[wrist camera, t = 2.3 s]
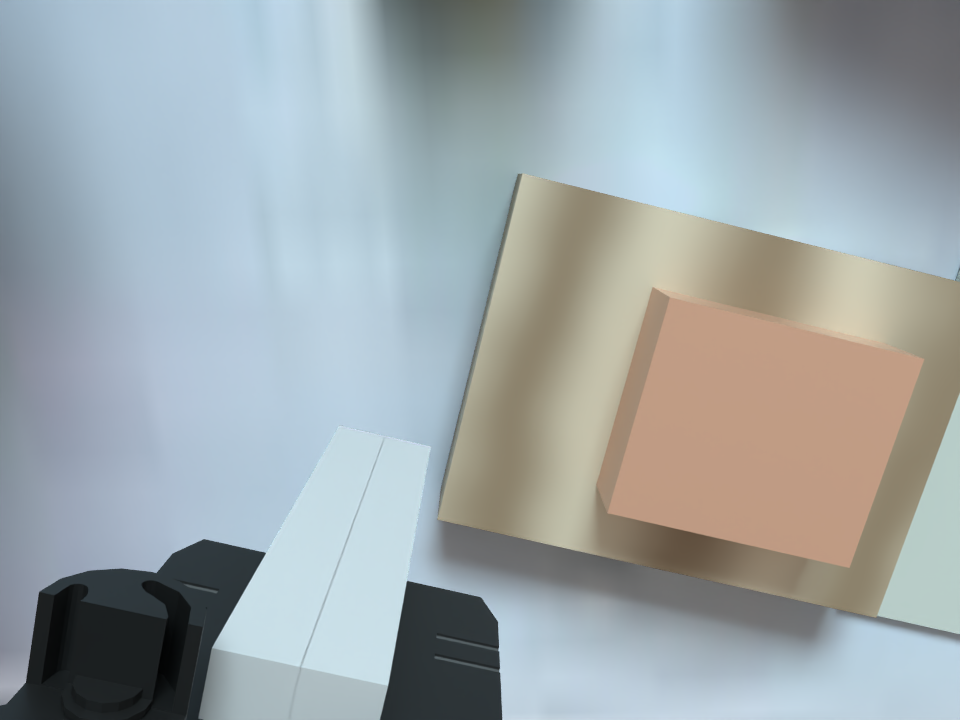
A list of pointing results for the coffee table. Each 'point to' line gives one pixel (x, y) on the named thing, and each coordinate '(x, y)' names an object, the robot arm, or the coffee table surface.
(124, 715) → the robot arm
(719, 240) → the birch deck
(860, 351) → the terracotta tile
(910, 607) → the sage mat
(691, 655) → the coffee table surface
